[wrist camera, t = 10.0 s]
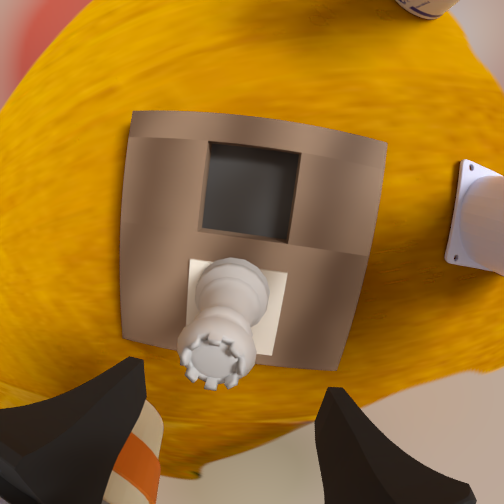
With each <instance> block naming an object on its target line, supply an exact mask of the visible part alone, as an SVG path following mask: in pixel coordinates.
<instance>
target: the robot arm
mask: <svg viewBox="0 0 504 504" xmlns="http://www.w3.org/2000/svg"><path fill="white" fill-rule="evenodd" d="M469 166H471V170H470V169H469ZM455 255H456V258H455V260H454V256H455ZM445 260H446V262H448V263H450V264H456V265H461V266H467V267H472V268H478V269H483V270H488V271H494V272H496V273H498V274H500V275H502V276H504V176H502V175H500V174H498V173H496V172H494V171H492V170H490V169H488V168H485V167H483V166H481V165H479V164H477V163H474V162H472V161H470V160H467V159H463V160H462V161H461V162H460V170H459V179H458V187H457V195H456V201H455V208H454V214H453V219H452V225H451V230H450V235H449V239H448V244H447V248H446V253H445ZM146 397H147V395H146V385H145V374H144V361H143V360H142V359H138V358H134V357H130V356H129V357H128V358H126V359H124V360H123V361H121V362H120V363H118V364H116V365H115V366H113V367H112V368H110V369H108V370H107V371H105V372H104V373H102V374H100V375H99V376H97V377H95V378H94V379H92V380H90V381H88V382H86V383H84V384H82V385H81V386H79V387H77V388H75V389H73V390H71V391H68V392H66V393H64V394H61V395H59V396H56V397H54V398H51V399H48V400H44V401H41V402H37V403H33V404H30V405H25V406H20V407H14V408H6V409H0V504H102V500H103V496H104V493H105V490H106V487H107V484H108V481H109V478H110V475H111V472H112V470H113V467H114V464H115V462H116V460H117V458H118V455H119V453H120V452H121V450H122V448H123V446H124V444H125V442H126V441H127V439H128V437H129V435H130V433H131V431H132V429H133V428H134V426H135V424H136V422H137V420H138V418H139V416H140V414H141V411H142V408H143V406H144V403H145V400H146ZM315 441H316V442H315V443H316V449H317V454H318V460H319V465H320V471H321V476H322V482H323V487H324V497H325V498H324V499H325V504H476V501H477V500H476V498H475V496H474V494H473V492H472V490H471V488H470V486H469V484H467V483H464V482H461V481H458V480H455V479H453V478H449V477H447V476H445V475H443V474H440V473H438V472H436V471H434V470H432V469H431V468H429V467H427V466H425V465H423V464H422V463H420V462H418V461H417V460H415V459H414V458H412V457H411V456H409V455H408V454H406V453H405V452H404V451H403V450H401V449H400V448H399V447H398V446H396V445H395V444H394V443H393V442H392V441H390V440H389V439H388V438H387V437H386V436H385V435H384V434H383V433H382V432H381V431H380V430H379V429H378V428H377V427H376V426H375V425H374V424H373V423H372V422H371V421H370V420H369V418H368V417H367V416H366V415H365V414H364V413H363V412H362V410H361V409H360V408H359V407H358V406H357V404H356V403H355V402H354V401H353V400H352V398H351V397H350V396H349V395H348V393H347V392H346V391H345V390H344V389H343V388H339V387H328V388H327V391H326V394H325V396H324V399H323V402H322V404H321V407H320V409H319V412H318V414H317V417H316V419H315Z"/></svg>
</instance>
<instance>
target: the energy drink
mask: <svg viewBox="0 0 504 504" xmlns="http://www.w3.org/2000/svg"><path fill="white" fill-rule="evenodd" d="M395 1H396V2H397V3H398V4H399V5H400V6H402V7H403V8H404V9H405V10H407V11H408V12H410V13H412V14H414V15H416V16H418V17H421V18H425V19H437V18H438V17H440V16H441V15H442V14H444V13H445V12H446V11H447V10H448V9H450V8H451V7H452V6H453V5H455V4H456V3H457V2H458V1H460V0H395Z"/></svg>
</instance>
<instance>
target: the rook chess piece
mask: <svg viewBox="0 0 504 504" xmlns="http://www.w3.org/2000/svg"><path fill="white" fill-rule="evenodd" d="M269 294H270V290H269V286H268V282H267V279H266V277H265V276H264V275H263V273H262V272H261V271H260V269H259V268H258V267H257V266H255V265H253V264H251V263H250V262H248V261H246V260H244V259H237V258H231V257H230V258H225V259H221V260H217V261H215V262H213V263H212V264H211V265H209V266H208V267H207V268H205V269H204V271H203V273H202V274H201V276H200V278H199V280H198V283H197V285H196V290H195V303H196V306H197V309H198V312H199V313H198V314H197V315H196V317H195V318H194V320H193V322H192V323H190V324H189V325H187V326H186V327H184V328H183V330H182V332H181V334H180V336H179V337H178V343H177V352H178V354H179V357H180V365H184V366H185V367H186V368H187V370H186V373H185V376H186V377H187V378H188V379H189V380H190V381H191V382H192V383H194V382H195V381H196V380H197V378H199V379H201V380H203V381H205V382H206V383H205V387H204V389H208V390H214V391H216V389H217V385H218V384H221V383H225V384H224V385H225V386H226V387H227V389H230V388H232V387H234V386H236V385H238V379H240V378H242V377H244V376H246V375H247V374H248V373H249V371H250V370H251V369H252V367H253V366H254V365H255V360H256V354H257V351H256V348H255V345H254V341H253V339H252V336H253V333H252V330H251V327H253V326H254V325H256V324H258V322H259V321H260V319H261V318H262V317H263V315H264V314H265V312H266V311H267V305H268V300H269Z"/></svg>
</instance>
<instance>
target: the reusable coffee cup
mask: <svg viewBox="0 0 504 504" xmlns="http://www.w3.org/2000/svg"><path fill="white" fill-rule="evenodd" d="M163 430H164V426H163V421H162V418H161V417H160V415H159V413H158V412H157V410H156V409H155V408H154V407H153V406H152V405H151V404H150V403H149V402H148V401H147V400H145V403H144V406H143V408H142V411H141V414H140V416H139V418H138V420H137V422H136V424H135V426H134V428H133V429H132V431H131V433H130V435H129V437H128V439H127V441H126V442H125V444H124V446H123V448H122V450H121V452H120V453H119V455H118V458H117V460H116V462H115V464H114V467H113V470H112V472H111V475H110V478H109V481H108V484H107V487H106V490H105V493H104V496H103V500H102V504H156V498H157V491H158V484H159V478H160V472H161V468H160V463H159V461H158V456H159V451H160V446H161V440H162V435H163Z"/></svg>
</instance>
